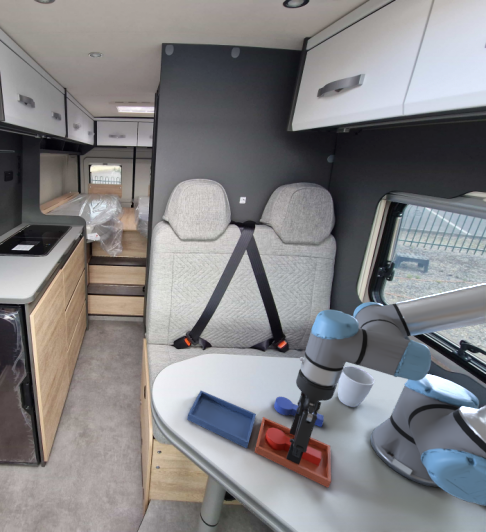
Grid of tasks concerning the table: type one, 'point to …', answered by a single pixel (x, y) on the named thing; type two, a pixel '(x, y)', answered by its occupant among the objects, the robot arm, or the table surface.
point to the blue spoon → (292, 409)
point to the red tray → (305, 467)
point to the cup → (354, 385)
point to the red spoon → (281, 442)
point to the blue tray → (222, 418)
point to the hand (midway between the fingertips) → (293, 447)
